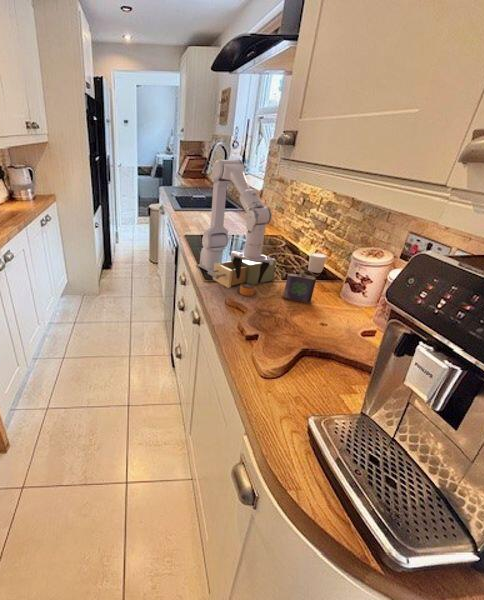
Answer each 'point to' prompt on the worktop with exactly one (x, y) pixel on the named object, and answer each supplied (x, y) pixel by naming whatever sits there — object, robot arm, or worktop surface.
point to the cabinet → (258, 271)
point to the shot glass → (317, 262)
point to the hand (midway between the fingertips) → (248, 280)
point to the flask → (299, 287)
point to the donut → (247, 289)
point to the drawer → (228, 274)
